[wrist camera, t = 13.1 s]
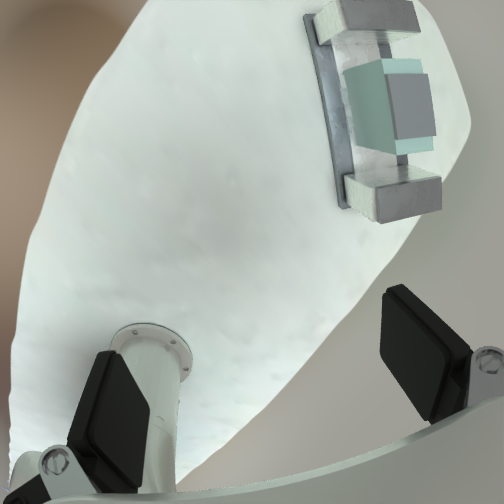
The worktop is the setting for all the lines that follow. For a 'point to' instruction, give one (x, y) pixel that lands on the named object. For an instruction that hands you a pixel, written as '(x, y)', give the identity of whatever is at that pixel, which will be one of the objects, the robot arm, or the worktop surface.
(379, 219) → the grey blocky piece
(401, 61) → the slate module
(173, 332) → the robot arm
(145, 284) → the worktop surface
